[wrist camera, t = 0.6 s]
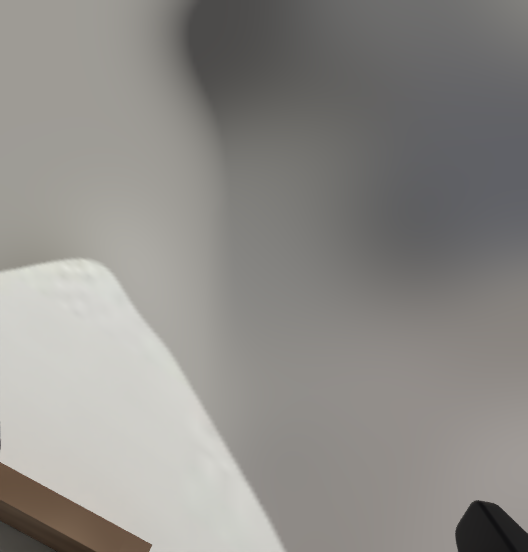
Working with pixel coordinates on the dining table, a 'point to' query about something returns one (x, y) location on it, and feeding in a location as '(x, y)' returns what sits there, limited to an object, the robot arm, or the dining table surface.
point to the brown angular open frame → (59, 519)
